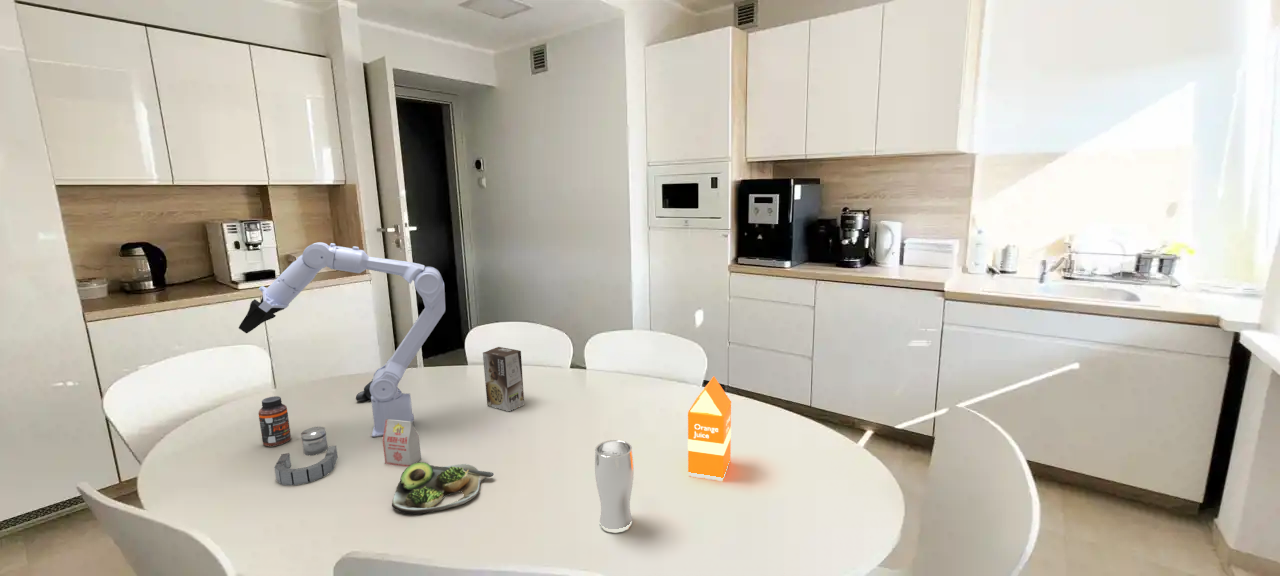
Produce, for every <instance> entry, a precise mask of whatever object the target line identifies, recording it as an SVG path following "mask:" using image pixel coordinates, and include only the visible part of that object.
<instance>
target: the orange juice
mask: <svg viewBox="0 0 1280 576" xmlns="http://www.w3.org/2000/svg"><path fill="white" fill-rule="evenodd" d="M731 439H732V400H731V399H730V397H729V396H728V395H727V393H726V392H725V390H724V389H723V387H722V386H721V384H720V383H719V381H718V380H717V378H716V377H715V376H713V377H712V378H711V379H710V380H709V382H708V383H706V385H705V387H704V388H703V390H702V391H701V392H700V393H699V395H697V397H696V398H695V400H694V402H693V403H692V404H691V407H690V408H689V409H688V411H687V455H688V456H687V465H688V466H687V467H688V468H687V469H688V471H687V473H688V472H691V473H697V474H704V475H710V476H716V477H721V478H723V477H724V474H725V472H726V469H727V466H728V463H729V461H730V462H731V449H732V447H731V445H732V444H731V443H732V442H731V441H732V440H731Z"/></svg>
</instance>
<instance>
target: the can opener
mask: <svg viewBox="0 0 1280 576" xmlns="http://www.w3.org/2000/svg"><path fill="white" fill-rule="evenodd" d="M372 381H373V378H372V379H371V381H369V382H368V383H367V384H366V385H365V386H364V388H363V391H360V392H358V393H357V394H356V396H355V400H356V401H358V402H361V401H367V400H371V396H372V395H371V394H370V385H371V383H372Z"/></svg>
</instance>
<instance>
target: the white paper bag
mask: <svg viewBox="0 0 1280 576" xmlns="http://www.w3.org/2000/svg"><path fill="white" fill-rule="evenodd" d="M382 446H383V455H384V456H383V458H384V464H386V465H391V466H392V465H393V466H399V467H400V466H402V467H408V466H410V465H412V464H414V463H416V462H420V461H421V460H422V455H421V444H420V434H419V433H418V431H417V430H416V428H415V425H414V422H413V423H412V422H411V421H401V420H391V419H387V420H385V429H384V434H383V435H382ZM420 459H421V460H420Z"/></svg>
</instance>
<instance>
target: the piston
mask: <svg viewBox="0 0 1280 576" xmlns="http://www.w3.org/2000/svg"><path fill="white" fill-rule="evenodd" d="M300 434H301V441H302V450H303V455H305V456H309V455H310V456H316V454H317V455H320V454H323V453H325V452H327V450H328V448H329V445H328V438H327V430H326V427H324V426H313V427H309V428H306V429H304V430H303V431H302V432H301V433H300Z"/></svg>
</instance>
